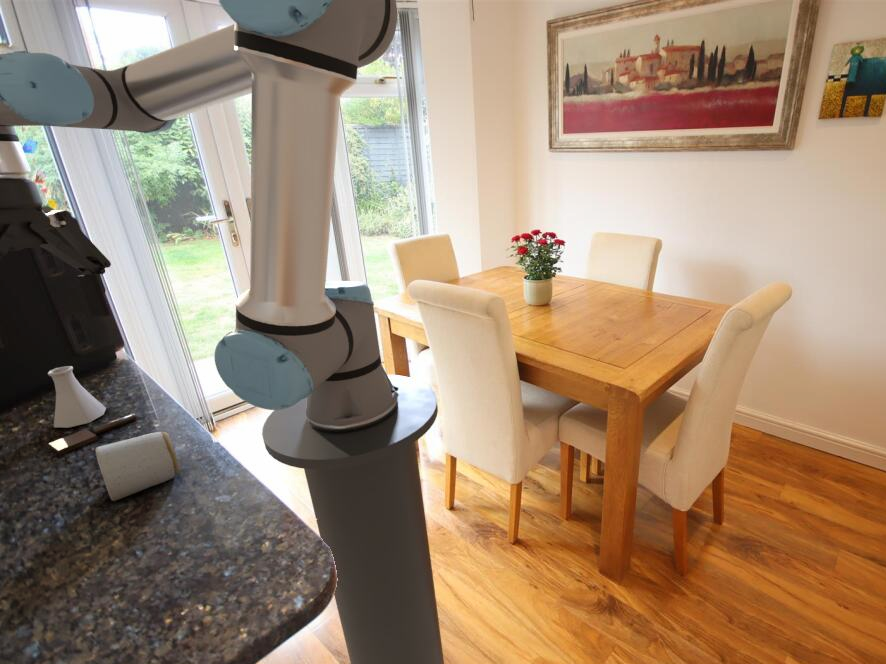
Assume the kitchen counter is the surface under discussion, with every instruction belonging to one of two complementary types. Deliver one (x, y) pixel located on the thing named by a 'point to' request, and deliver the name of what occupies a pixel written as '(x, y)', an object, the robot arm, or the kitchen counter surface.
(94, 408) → the flask
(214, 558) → the kitchen counter surface
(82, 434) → the spatula
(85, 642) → the kitchen counter surface
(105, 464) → the white cylinder
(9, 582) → the kitchen counter surface
